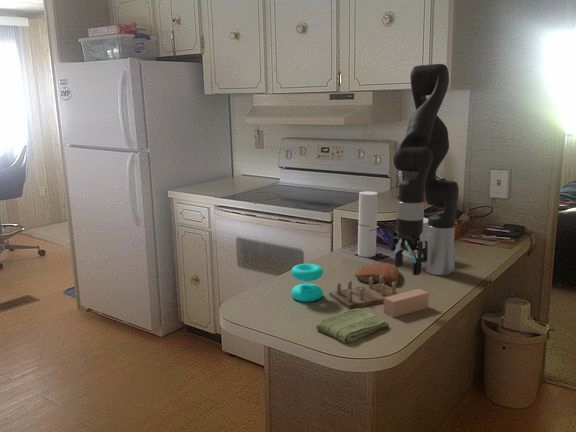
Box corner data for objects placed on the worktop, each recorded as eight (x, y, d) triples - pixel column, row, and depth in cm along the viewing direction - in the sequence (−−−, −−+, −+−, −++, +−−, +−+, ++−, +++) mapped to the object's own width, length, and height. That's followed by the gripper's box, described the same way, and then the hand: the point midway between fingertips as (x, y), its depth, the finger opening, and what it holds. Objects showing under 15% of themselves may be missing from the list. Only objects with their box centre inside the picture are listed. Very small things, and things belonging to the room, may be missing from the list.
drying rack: (381, 286, 182) (382, 272, 181) (403, 298, 171) (404, 284, 170) (329, 295, 174) (329, 281, 172) (348, 308, 163) (349, 294, 162)
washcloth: (391, 328, 150) (391, 317, 150) (346, 347, 139) (346, 335, 139) (356, 314, 160) (356, 303, 160) (312, 330, 149) (312, 319, 149)
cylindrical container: (357, 251, 221) (359, 191, 215) (375, 252, 220) (377, 191, 214) (357, 256, 214) (359, 194, 208) (375, 257, 213) (377, 194, 207)
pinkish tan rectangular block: (418, 303, 167) (419, 288, 166) (427, 308, 164) (428, 292, 163) (383, 313, 160) (384, 297, 159) (392, 318, 157) (393, 302, 156)
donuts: (297, 261, 177) (326, 264, 173) (297, 289, 179) (326, 293, 175) (286, 270, 167) (317, 273, 164) (286, 300, 170) (317, 304, 166)
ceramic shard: (358, 256, 198) (399, 264, 195) (355, 273, 199) (396, 281, 196) (355, 263, 183) (400, 272, 181) (352, 281, 184) (396, 291, 182)
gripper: (436, 220, 151) (433, 276, 154) (405, 210, 163) (403, 262, 167) (414, 222, 148) (411, 279, 151) (384, 212, 160) (382, 265, 164)
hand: (407, 270), depth 159 cm, fingers open, 8 cm apart
